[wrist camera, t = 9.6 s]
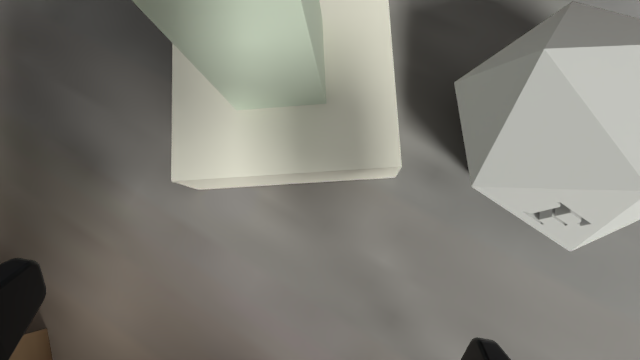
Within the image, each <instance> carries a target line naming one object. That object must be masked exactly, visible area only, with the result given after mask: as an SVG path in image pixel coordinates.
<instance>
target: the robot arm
mask: <svg viewBox="0 0 640 360" xmlns="http://www.w3.org/2000/svg"><path fill="white" fill-rule="evenodd" d="M45 295H46V286H45V283H44V279H43V276H42V272H41V269H40V266H39V264H38V263H37V262H36V261H33V260H27V259H21V258H14V259H11V260H8V261H6V262H4V263H2V264H0V360H9V359H10V357H11V355H12V354H13V352H14V350H15V348H16V347H17V345H18V343H19V342H20V340H21V338H22V337H23V335H24V333H25V331H26V330H27V328H28V326H29V325H30V323H31V321H32V320H33V318H34V316H35V314H36V313H37V311H38V309H39V308H40V306H41V304H42V302H43V300H44V298H45ZM461 360H511V359H510V358H509V357H508V356H507V354H506V353H505V352H504V351H503V350H502V348H501V347H500V346H499V345H498V344H497V343H496V342H495V341H493V340H489V339H483V338H474V339H472V341H471V342H470V344H469V346H468V348H467V349H466V351H465V353H464V355H463V357H462V358H461Z"/></svg>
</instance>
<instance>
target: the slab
mask: <svg viewBox="0 0 640 360" xmlns="http://www.w3.org/2000/svg"><path fill="white" fill-rule="evenodd" d="M319 2H320V8H321V13H322V22H323V43H324V64H325V85H326V104H315V105H301V106H288V107H274V108H261V109H247V110H236V109H235V108H234V107H233V106H232V105H231V104H230V103H229V102H228V101H227V100H226V99H225V98H224V97H223V95H222V94H221V93H220V92H219V91H218V90H217V89H216V88H215V87H214V86H213V85H212V84H211V83H210V82H209V81H208V80H207V79H206V78H205V77H204V76H203V75H202V73H201V72H200V71H199V70H198V69H197V68H196V67H195V66H194V65H193V64H192V63H191V62H190V61H189V60H188V59H187V58H186V57H185V56H184V55H183V54H182V53H181V52H180V50H179V49H178V48H177V47H176V46H175V45H174V44H173V43H172V156H171V181H172V182H175V183H178V184H182V185H185V186H188V187H191V188H195V189H198V190H201V189H218V188H234V187H250V186H266V185H282V184H299V183H315V182H331V181H347V180H364V179H380V178H395V177H396V176H397V174H398V172H399V170H400V169H401V167H402V164H401V151H400V139H399V126H398V114H397V101H396V89H395V76H394V64H393V51H392V39H391V26H390V14H389V1H388V0H319Z"/></svg>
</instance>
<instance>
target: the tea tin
mask: <svg viewBox="0 0 640 360" xmlns="http://www.w3.org/2000/svg"><path fill="white" fill-rule="evenodd" d="M132 1H133V2H134V3H135V4H136V5H137V6H138V8H139V9H140V10H141V11H142V12H143V13H144V14H145V15H146V16H147V17H148V18H149V19H150V20H151V21H152V22H153V23H154V24H155V25H156V26H157V27H158V28H159V30H160V31H161V32H162V33H163V34H164V35H165V36H166V37H167V38H168V39H169V40H170V41H171V42H172V43H173V44H174V45H175V46H176V47H177V48H178V49H179V50H180V52H181V53H182V54H183V55H184V56H185V57H186V58H187V59H188V60H189V61H190V62H191V63H192V64H193V65H194V66H195V67H196V68H197V69H198V70H199V71H200V72H201V73H202V75H203V76H204V77H205V78H206V79H207V80H208V81H209V82H210V83H211V84H212V85H213V86H214V87H215V88H216V89H217V90H218V91H219V92H220V93H221V94H222V95H223V97H224V98H225V99H226V100H227V101H228V102H229V103H230V104H231V105H232V106H233V107H234V108H235V109H236V110H247V109H261V108H274V107H288V106H301V105H315V104H326V85H325V64H324V43H323V22H322V13H321V8H320V2H319V0H132Z"/></svg>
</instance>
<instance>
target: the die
mask: <svg viewBox="0 0 640 360" xmlns="http://www.w3.org/2000/svg"><path fill="white" fill-rule="evenodd" d="M454 85H455V91H456V97H457V103H458V109H459V115H460V121H461V127H462V133H463V139H464V145H465V151H466V157H467V163H468V169H469V175H470V181H471V187H473V188H474V189H476V190H477V191H479V192H480V193H482V194H483V195H485V196H486V197H488V198H490V199H491V200H493V201H494V202H496V203H497V204H499V205H500V206H502V207H503V208H505V209H506V210H508V211H509V212H511V213H512V214H514V215H515V216H517V217H518V218H520V219H521V220H523V221H524V222H526V223H527V224H529V225H530V226H532V227H533V228H535V229H537V230H538V231H540V232H541V233H543V234H544V235H546V236H547V237H549V238H550V239H552V240H553V241H555V242H556V243H558V244H559V245H561V246H562V247H564V248H565V249H567V250H568V251H572V250H575V249H577V248H579V247H581V246H583V245H585V244H588V243H590V242H592V241H594V240H596V239H599V238H601V237H603V236H605V235H607V234H609V233H612V232H614V231H616V230H618V229H620V228H622V227H625V226H627V225H629V224H631V223H633V222H635V221H638V220H640V19H639V18H635V17H631V16H627V15H623V14H619V13H616V12H612V11H608V10H604V9H600V8H596V7H592V6H589V5H585V4H581V3H577V2H573V1H572V2H571V3H569V4H568V5H566V6H565V7H563V8H562V9H561V10H559V11H558V12H556V13H555V14H553V15H552V16H550V17H549V18H547V19H546V20H545V21H543V22H542V23H540V24H539V25H537V26H536V27H534V28H533V29H531V30H530V31H528V32H527V33H526V34H524V35H523V36H521V37H520V38H518V39H517V40H515V41H514V42H512V43H511V44H509V45H508V46H507V47H505V48H504V49H502V50H501V51H499V52H498V53H496V54H495V55H493V56H492V57H490V58H489V59H488V60H486V61H485V62H483V63H482V64H480V65H479V66H477V67H476V68H474V69H473V70H472V71H470V72H469V73H467V74H466V75H464V76H463V77H461V78H460V79H458V80H457V81H455V82H454Z"/></svg>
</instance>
